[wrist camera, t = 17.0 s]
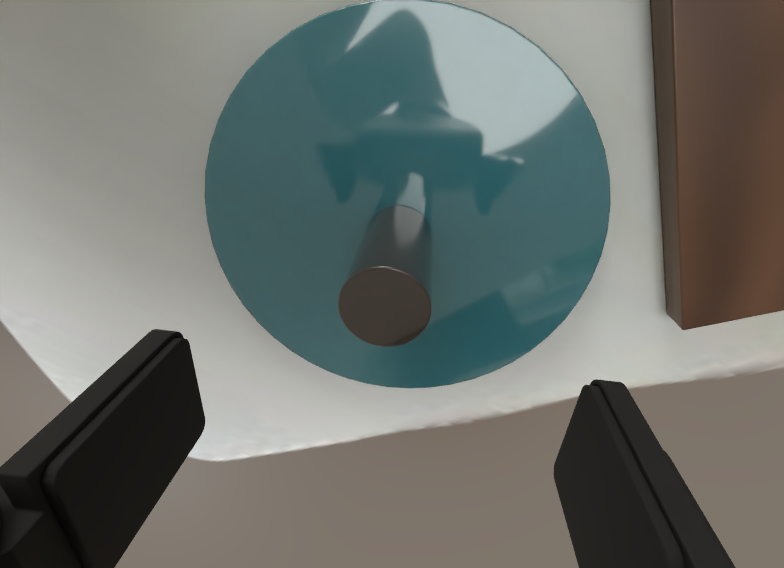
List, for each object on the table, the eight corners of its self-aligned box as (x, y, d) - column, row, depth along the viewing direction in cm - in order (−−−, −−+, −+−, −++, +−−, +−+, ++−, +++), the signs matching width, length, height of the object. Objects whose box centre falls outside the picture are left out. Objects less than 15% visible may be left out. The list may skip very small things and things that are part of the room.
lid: (619, 337, 21) (697, 454, 15) (309, 399, 25) (268, 511, 19) (570, -89, 13) (687, -220, 7) (140, 100, 17) (-23, 121, 11)
